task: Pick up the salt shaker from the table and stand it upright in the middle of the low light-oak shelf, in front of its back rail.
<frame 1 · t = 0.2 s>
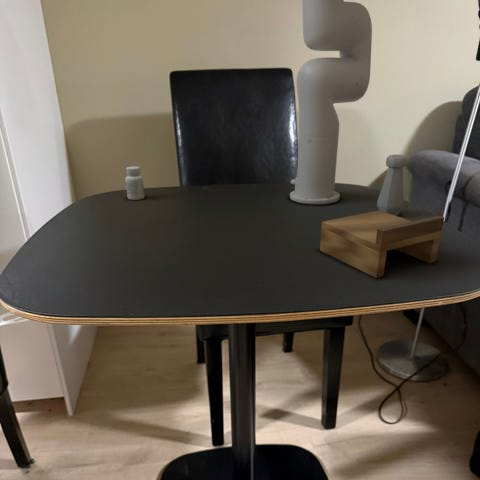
salt shaker: (388, 215, 110), on the table
shelf: (375, 255, 87), on the table
pill bottle: (136, 198, 125), on the table
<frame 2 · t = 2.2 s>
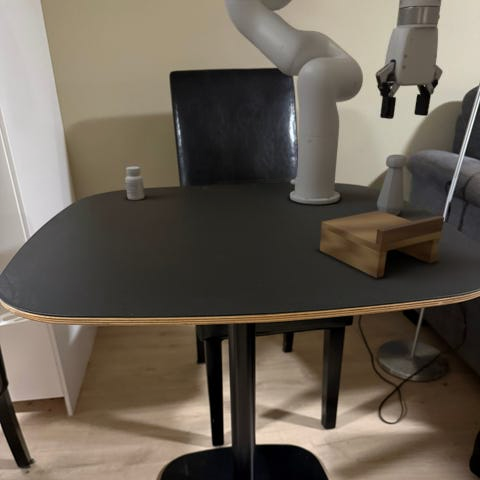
hand: (404, 116, 100), 21 cm above the table, tool pointing down, fingers open, 9 cm apart
nothing on the table moved.
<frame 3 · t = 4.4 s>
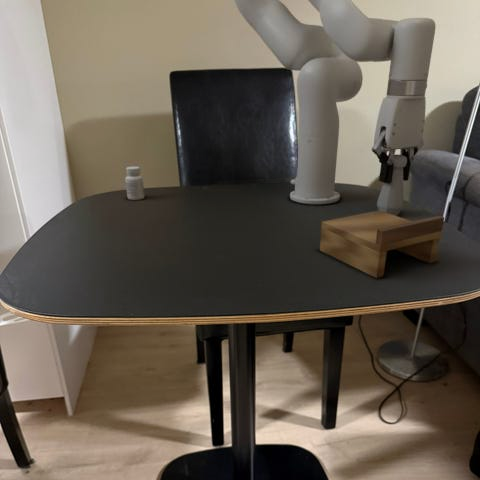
hand: (393, 180, 106), 8 cm above the table, tool pointing down, fingers closed on salt shaker, 4 cm apart
salt shaker: (388, 215, 110), on the table, touching gripper
everything else where it was.
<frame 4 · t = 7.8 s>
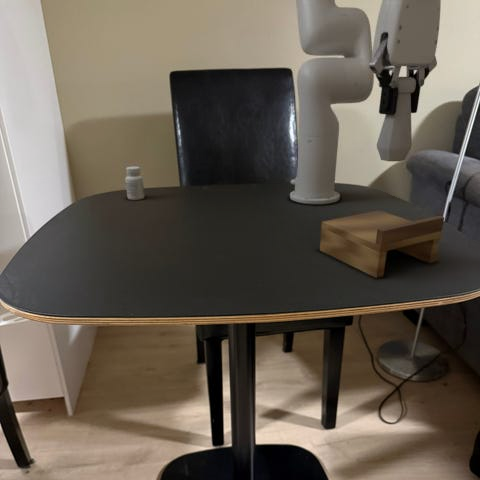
hand: (397, 112, 81), 24 cm above the table, tool pointing down, fingers closed on salt shaker, 4 cm apart
salt shaker: (392, 160, 85), point 16 cm above the table, touching gripper
everything else where it was.
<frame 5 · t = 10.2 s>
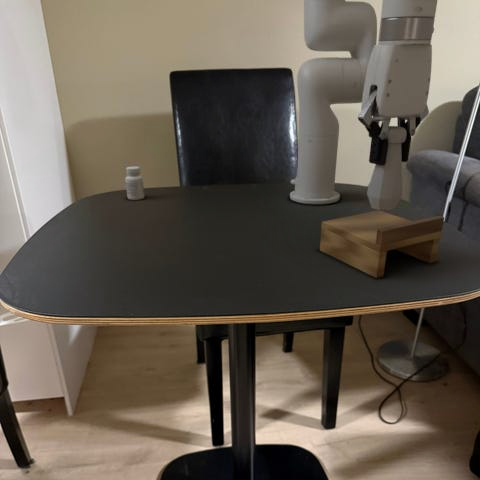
hand: (388, 161, 79), 17 cm above the table, tool pointing down, fingers closed on salt shaker, 4 cm apart
salt shaker: (382, 208, 83), point 9 cm above the table, touching gripper
everything else where it was.
when the fingers open (13 cm above the table, at t = 11.6 s): salt shaker stays where it is, resting on shelf.
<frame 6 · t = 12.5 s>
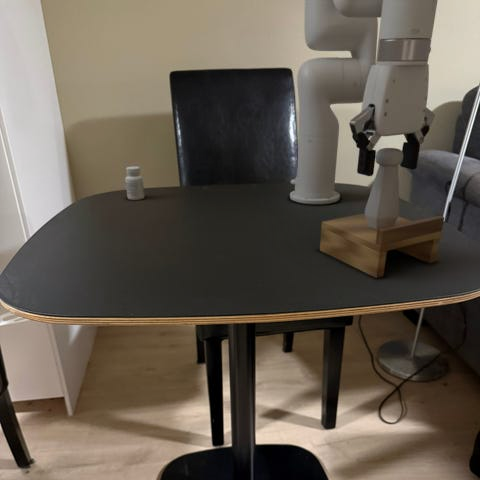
hand: (386, 171, 80), 15 cm above the table, tool pointing down, fingers open, 9 cm apart
salt shaker: (379, 227, 85), point 5 cm above the table, touching shelf
everything else where it was.
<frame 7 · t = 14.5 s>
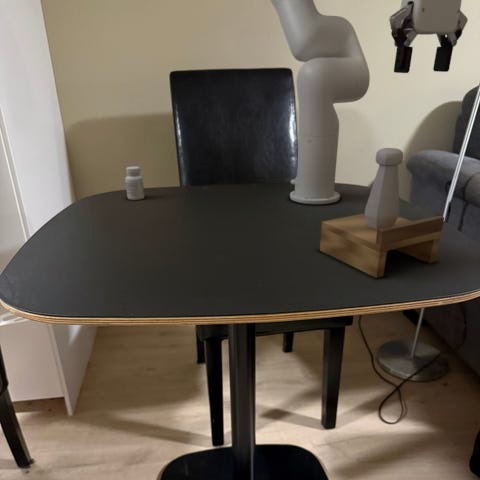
hand: (421, 72, 87), 29 cm above the table, tool pointing down, fingers open, 9 cm apart
nothing on the table moved.
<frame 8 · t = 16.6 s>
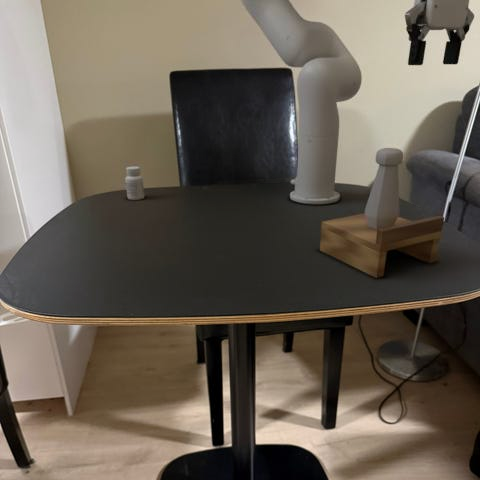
hand: (432, 64, 93), 30 cm above the table, tool pointing down, fingers open, 9 cm apart
nothing on the table moved.
at the end: salt shaker 0.1 cm off-centre on the shelf, point 5.4 cm above the shelf's base; salt shaker tilted 0° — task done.
